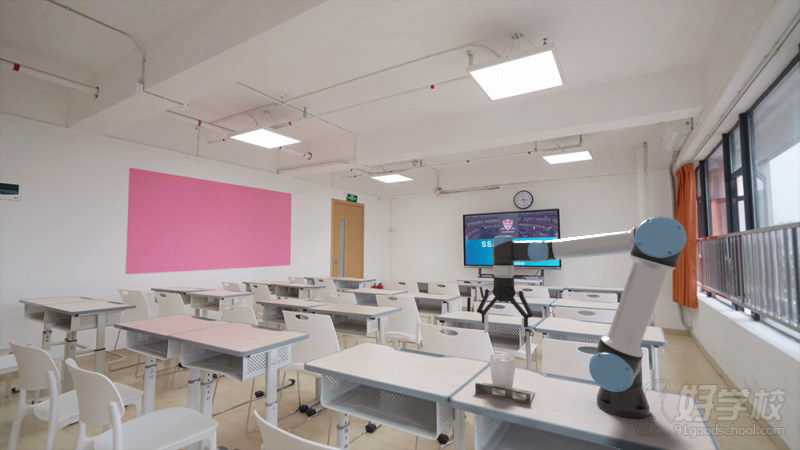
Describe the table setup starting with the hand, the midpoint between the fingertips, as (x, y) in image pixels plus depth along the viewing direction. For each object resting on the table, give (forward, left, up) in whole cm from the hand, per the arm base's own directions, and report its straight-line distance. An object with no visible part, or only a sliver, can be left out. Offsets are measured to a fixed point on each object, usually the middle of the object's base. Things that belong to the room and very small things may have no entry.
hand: (504, 334), depth 136 cm
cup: (+1, 0, -21) cm, 21 cm away
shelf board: (0, +1, -21) cm, 21 cm away
